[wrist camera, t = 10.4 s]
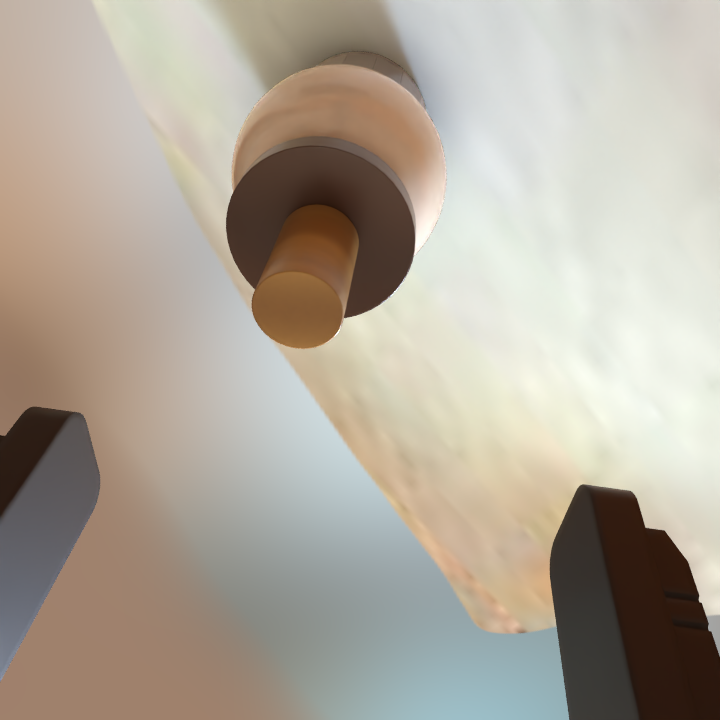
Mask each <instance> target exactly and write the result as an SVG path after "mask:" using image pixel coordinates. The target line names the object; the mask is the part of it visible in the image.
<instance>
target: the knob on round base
mask: <svg viewBox="0 0 720 720" xmlns="http://www.w3.org/2000/svg"><path fill="white" fill-rule="evenodd" d="M226 231H227V239H228V243H229V247H230V251H231V254H232V256H233V258H234V261H235V263H236V265H237V266H238V268H239V270H240V272H241V273H242V275H243V276H244V277H245V279H246V280H247V281H248V282H249V283H250V285H251V286H252V287H253V288H254V289H255V292H254V294H253V298H252V311H253V315H254V318H255V320H256V322H257V324H258V326H259V327H260V328H261V330H262V331H263V332H264V333H265V334H266V335H267V336H269V337H270V338H271V339H273V340H274V341H276V342H278V343H280V344H283V345H285V346H288V347H293V348H301V349H306V348H314V347H318V346H321V345H323V344H325V343H327V342H328V341H330V340H331V339H332V338H333V337H334V336H335V335H336V334H337V333H338V332H339V330H340V328H341V326H342V323H343V319H344V318H347V317H352V316H356V315H359V314H362V313H364V312H367V311H369V310H371V309H373V308H375V307H377V306H378V305H380V304H382V303H383V302H384V301H385V300H387V299H388V298H389V297H390V296H391V295H392V294H393V293H394V292H395V291H396V290H397V289H398V288H399V286H400V285H401V284H402V282H403V281H404V279H405V277H406V276H407V274H408V272H409V269H410V267H411V264H412V261H413V257H414V252H415V240H416V217H415V212H414V208H413V204H412V201H411V199H410V196H409V193H408V192H407V190H406V188H405V186H404V184H403V183H402V181H401V180H400V178H399V177H398V176H397V174H396V173H395V172H394V171H393V170H392V169H391V168H390V167H389V165H388V164H387V163H385V162H384V161H383V160H382V159H381V158H379V157H378V156H377V155H375V154H374V153H372V152H370V151H369V150H367V149H366V148H364V147H361V146H359V145H357V144H355V143H352V142H349V141H346V140H343V139H339V138H333V137H326V136H309V137H300V138H296V139H292V140H288V141H286V142H283V143H280V144H278V145H276V146H274V147H272V148H271V149H269V150H267V151H266V152H264V153H263V154H262V155H261V156H259V157H258V158H257V159H256V160H255V161H254V162H253V163H252V164H251V165H250V166H249V168H248V169H247V171H246V172H245V173H244V175H243V176H242V178H241V180H240V181H239V183H238V184H237V186H236V188H235V190H234V192H233V194H232V196H231V199H230V203H229V206H228V211H227V217H226Z"/></svg>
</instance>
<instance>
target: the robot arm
mask: <svg viewBox="0 0 720 720" xmlns="http://www.w3.org/2000/svg"><path fill="white" fill-rule="evenodd" d="M99 489H100V474H99V469H98V465H97V462H96V458H95V454H94V450H93V447H92V442H91V439H90V435H89V431H88V427H87V423H86V420H85V418H84V416H83V415H82V414H81V413H77V412H69V411H63V410H56V409H48V408H41V407H31V408H29V409H27V410H26V411H25V412H24V413H23V414H22V415H21V416H20V418H19V419H18V420H17V421H16V423H15V424H14V425H13V427H12V428H11V429H10V431H9V432H8V433H7V435H6V436H1V435H0V681H1V679H2V678H3V675H4V674H5V672H6V670H7V668H8V667H9V665H10V663H11V661H12V659H13V657H14V655H15V654H16V652H17V650H18V648H19V646H20V644H21V643H22V641H23V639H24V637H25V635H26V633H27V632H28V630H29V628H30V626H31V624H32V622H33V621H34V619H35V617H36V615H37V613H38V611H39V610H40V608H41V606H42V604H43V602H44V600H45V598H46V597H47V595H48V593H49V591H50V589H51V587H52V586H53V584H54V582H55V580H56V578H57V576H58V574H59V573H60V571H61V569H62V567H63V565H64V564H65V562H66V560H67V558H68V556H69V554H70V553H71V551H72V549H73V547H74V545H75V543H76V541H77V539H78V538H79V536H80V534H81V532H82V530H83V529H84V527H85V525H86V523H87V521H88V519H89V518H90V515H91V514H92V512H93V510H94V507H95V505H96V502H97V499H98V495H99ZM550 581H551V588H552V596H553V603H554V610H555V617H556V625H557V632H558V639H559V646H560V654H561V661H562V669H563V676H564V683H565V690H566V698H567V705H568V712H569V720H720V656H719V653H718V650H717V647H716V644H715V641H714V638H713V636H712V632H710V631H709V630H708V624H709V623H708V620H707V617H706V614H705V611H704V608H703V605H702V603H699V594H698V591H697V588H696V585H695V582H694V579H693V576H692V573H691V570H690V567H689V564H688V561H687V560H686V559H685V557H684V556H683V555H682V553H681V552H680V551H679V549H678V548H677V547H676V545H675V544H674V543H673V541H672V540H671V539H670V537H669V536H668V535H667V533H666V532H665V531H664V530H656V529H649V528H645V525H644V521H643V518H642V515H641V511H640V508H639V504H638V501H637V498H636V497H635V495H634V494H633V493H632V492H631V491H627V490H620V489H613V488H606V487H598V486H591V485H584V484H583V485H581V486H579V488H578V489H577V491H576V493H575V495H574V497H573V499H572V502H571V504H570V506H569V508H568V510H567V513H566V515H565V517H564V519H563V522H562V524H561V526H560V528H559V530H558V533H557V535H556V537H555V539H554V542H553V546H552V550H551V557H550Z"/></svg>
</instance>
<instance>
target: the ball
mask: <svg viewBox="0 0 720 720" xmlns="http://www.w3.org/2000/svg"><path fill="white" fill-rule="evenodd" d="M309 136H326V137H333V138H339V139H343V140H346V141H349V142H352V143H355V144H357V145H359V146H361V147H364V148H366V149H367V150H369V151H370V152H372V153H374V154H375V155H377V156H378V157H379V158H381V159H382V160H383V161H384V162H385V163H387V164H388V165H389V167H390V168H391V169H392V170H393V171H394V172H395V173H396V174H397V176H398V177H399V178H400V180H401V181H402V183H403V184H404V186H405V188H406V190H407V192H408V193H409V196H410V199H411V201H412V204H413V208H414V212H415V217H416V240H415V252H414V256H415V254H416V253H417V252H418V251H419V250H420V249H421V248H422V247H423V245H424V244H425V243H426V241H427V240H428V238H429V236H430V235H431V233H432V231H433V229H434V227H435V226H436V224H437V221H438V219H439V216H440V214H441V211H442V207H443V202H444V198H445V192H446V182H447V173H446V162H445V156H444V150H443V146H442V143H441V139H440V136H439V133H438V131H437V129H436V127H435V125H434V123H433V121H432V119H431V118H430V116H429V115H428V113H427V112H426V110H425V109H424V107H423V106H422V105H421V103H420V102H419V101H418V100H417V99H416V98H415V97H414V95H413V94H411V93H410V92H409V91H408V90H407V89H406V88H405V87H403V86H402V85H401V84H399V83H398V82H396V81H395V80H393V79H392V78H390V77H388V76H386V75H384V74H382V73H380V72H378V71H375V70H372V69H369V68H366V67H362V66H357V65H351V64H328V65H320V66H315V67H311V68H307V69H304V70H301V71H299V72H297V73H294V74H292V75H290V76H288V77H287V78H285V79H283V80H282V81H280V82H279V83H277V84H276V85H275V86H274V87H273V88H271V89H270V90H269V91H268V92H267V93H265V94H264V95H263V96H262V98H261V99H260V100H259V101H258V102H257V103H256V104H255V106H254V107H253V109H252V110H251V112H250V113H249V115H248V116H247V118H246V120H245V122H244V124H243V126H242V128H241V130H240V132H239V135H238V138H237V141H236V145H235V149H234V155H233V161H232V187H233V192H234V190H235V188H236V186H237V184H238V183H239V181H240V180H241V178H242V176H243V175H244V173H245V172H246V171H247V169H248V168H249V166H250V165H251V164H252V163H253V162H254V161H255V160H256V159H257V158H258V157H259V156H261V155H262V154H263V153H264V152H266V151H267V150H269V149H271V148H272V147H274V146H276V145H278V144H280V143H283V142H286V141H288V140H292V139H296V138H300V137H309Z"/></svg>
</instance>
